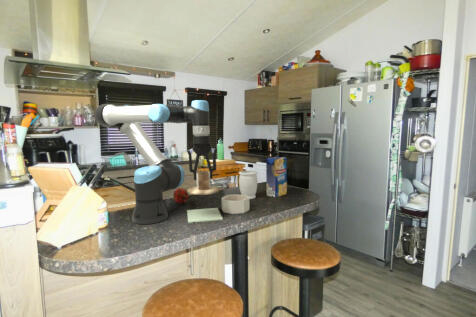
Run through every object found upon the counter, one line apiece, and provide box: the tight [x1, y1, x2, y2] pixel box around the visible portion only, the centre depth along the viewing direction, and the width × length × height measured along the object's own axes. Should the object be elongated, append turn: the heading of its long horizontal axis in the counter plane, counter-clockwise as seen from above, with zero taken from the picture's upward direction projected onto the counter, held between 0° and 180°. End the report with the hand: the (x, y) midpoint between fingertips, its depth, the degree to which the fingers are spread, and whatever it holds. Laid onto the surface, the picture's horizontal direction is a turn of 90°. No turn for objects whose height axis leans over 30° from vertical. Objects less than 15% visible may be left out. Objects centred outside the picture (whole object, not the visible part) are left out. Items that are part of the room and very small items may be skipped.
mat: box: [186, 207, 224, 224], centre depth 125 cm, size 15×17×1 cm
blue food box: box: [265, 156, 288, 198], centre depth 161 cm, size 7×11×22 cm, turn 134°
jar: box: [238, 170, 258, 200], centre depth 156 cm, size 11×10×15 cm
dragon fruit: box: [172, 187, 191, 205], centre depth 148 cm, size 8×8×12 cm
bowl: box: [221, 194, 250, 215], centre depth 133 cm, size 13×13×6 cm
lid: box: [187, 170, 220, 196], centre depth 124 cm, size 14×14×9 cm
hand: (203, 186), depth 124 cm, fingers closed on lid, 5 cm apart
